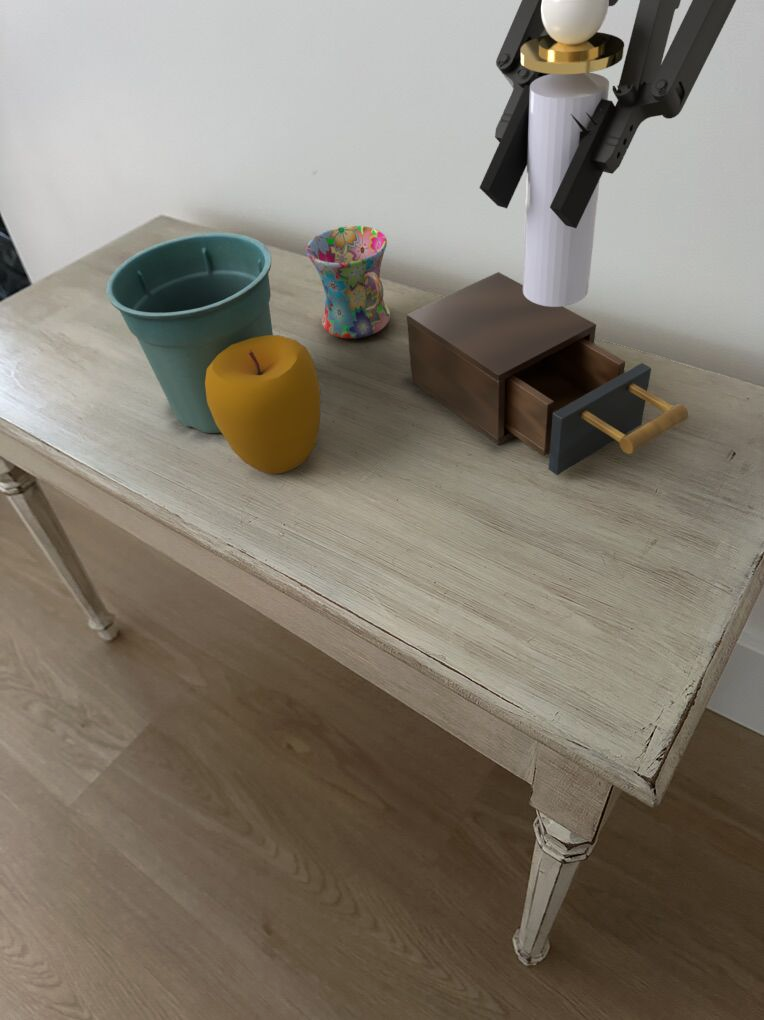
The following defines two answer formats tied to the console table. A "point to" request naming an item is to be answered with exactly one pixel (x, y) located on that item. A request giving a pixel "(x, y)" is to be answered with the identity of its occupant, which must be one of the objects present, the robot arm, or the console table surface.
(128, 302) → the flower pot
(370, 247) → the mug
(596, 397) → the drawer
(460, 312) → the cabinet
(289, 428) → the apple
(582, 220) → the perfume bottle
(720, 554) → the console table surface
